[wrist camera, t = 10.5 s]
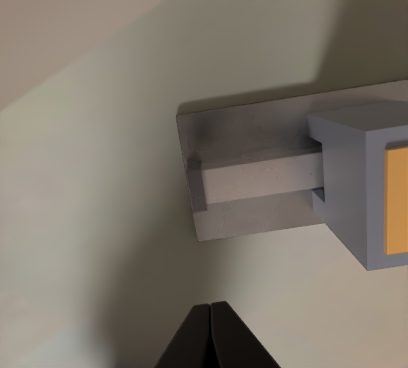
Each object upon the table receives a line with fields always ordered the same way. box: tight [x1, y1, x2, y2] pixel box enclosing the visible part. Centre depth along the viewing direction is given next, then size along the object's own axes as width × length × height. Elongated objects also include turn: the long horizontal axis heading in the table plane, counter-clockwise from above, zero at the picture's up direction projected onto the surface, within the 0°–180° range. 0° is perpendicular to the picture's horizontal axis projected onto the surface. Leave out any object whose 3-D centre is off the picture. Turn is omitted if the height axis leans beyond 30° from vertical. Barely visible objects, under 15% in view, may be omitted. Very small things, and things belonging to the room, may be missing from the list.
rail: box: [176, 79, 408, 242], centre depth 19 cm, size 8×20×3 cm, turn 99°
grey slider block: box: [307, 100, 408, 271], centre depth 17 cm, size 6×5×7 cm
